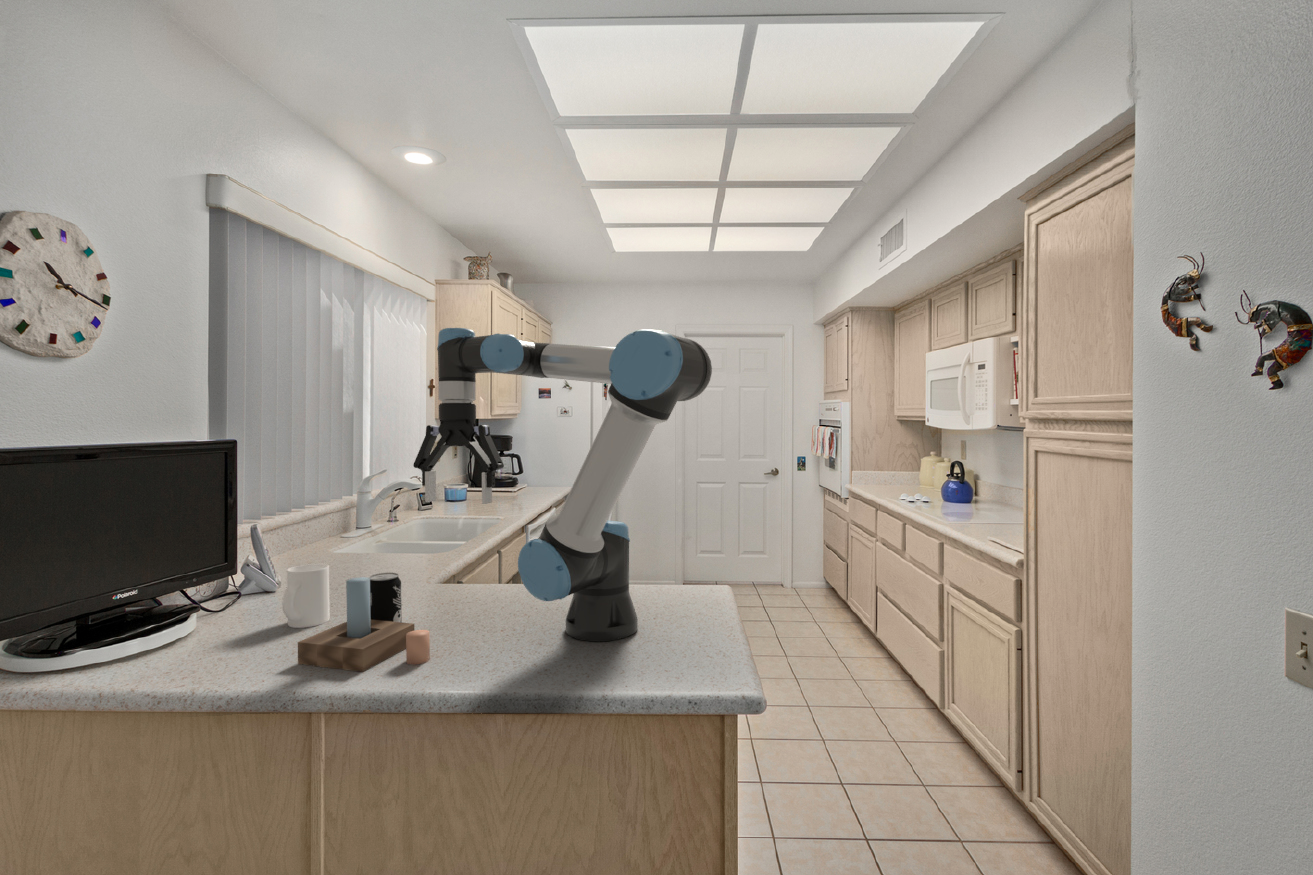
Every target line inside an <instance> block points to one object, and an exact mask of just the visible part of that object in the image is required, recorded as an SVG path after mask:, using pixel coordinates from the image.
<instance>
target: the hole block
mask: <svg viewBox="0 0 1313 875" xmlns="http://www.w3.org/2000/svg"><path fill="white" fill-rule="evenodd" d="M370 621H371V634H369V635H367V636H365V637H363V638H361V639H358V638H348V637H347V621H345V622H342V623H340V624H338V625H335V626H332V627H331V628H328V629H326V630H323V631H320V632H318V633H316V634H313V635H311V636H309V637H306V638H304V639H302V640H298V641H297V664H298V665H302V664H305V665H304V666H310V665H312V666H311V667H318V666H320V668H327V667H328V668H329V669H335V670H346V671H353V672H354V671H355V672H360V673H363V672H366V671H367V670H369V669H371V668H373V667H375V666H376V665H378V664H381V663H382V662H384V661H386V660H388V659H390V658H391V657H393V656H395V655H396V654H399V653H400V652H402V651H404V650H406V634H407V633H408V632H411V631H414V630H415V623H414V622H413V623H412V622H403V621H402V622H392V621H381V620H371V619H370ZM313 665H314V666H313ZM328 668H327V669H328Z"/></svg>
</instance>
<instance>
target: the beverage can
mask: <svg viewBox="0 0 1313 875" xmlns="http://www.w3.org/2000/svg"><path fill="white" fill-rule="evenodd" d="M399 575H400V574H399V573H397V572H381V573H380V572H379V573H375V574H372V575H369V577H368V578H370V619H371V620H381V621H392V622H403V620H402V619H403V618H402V581H401V579H400V578H399Z"/></svg>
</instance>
